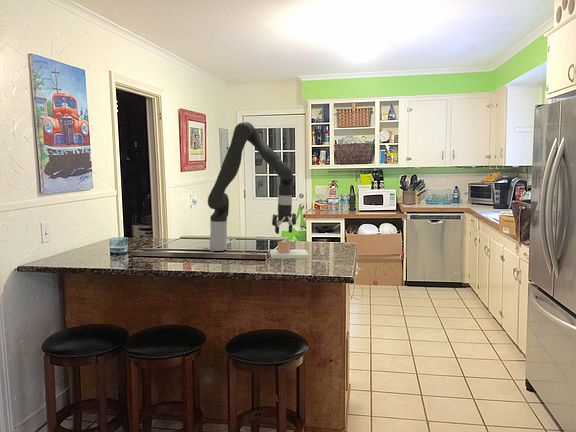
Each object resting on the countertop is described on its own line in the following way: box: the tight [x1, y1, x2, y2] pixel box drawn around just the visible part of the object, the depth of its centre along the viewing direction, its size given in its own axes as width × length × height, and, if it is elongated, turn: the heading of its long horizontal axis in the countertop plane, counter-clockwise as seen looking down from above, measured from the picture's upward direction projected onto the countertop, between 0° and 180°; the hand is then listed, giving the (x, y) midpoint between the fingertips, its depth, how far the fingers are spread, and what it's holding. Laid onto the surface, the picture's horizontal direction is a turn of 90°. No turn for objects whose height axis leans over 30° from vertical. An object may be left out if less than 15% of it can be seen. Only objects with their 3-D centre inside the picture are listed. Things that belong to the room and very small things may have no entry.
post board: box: [269, 249, 310, 260], centre depth 262 cm, size 20×14×6 cm
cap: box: [277, 240, 291, 253], centre depth 261 cm, size 6×6×6 cm
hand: (283, 233), depth 261 cm, fingers open, 8 cm apart
